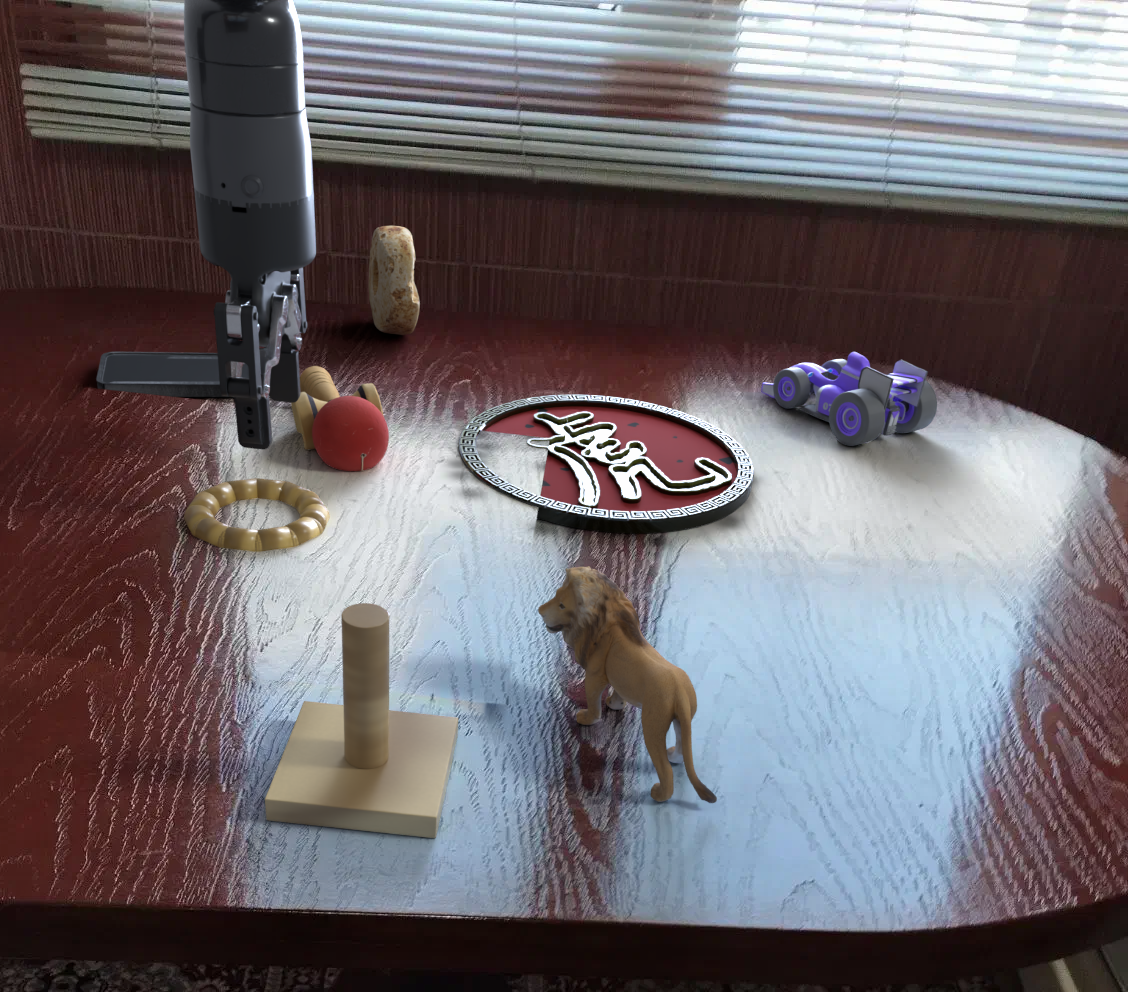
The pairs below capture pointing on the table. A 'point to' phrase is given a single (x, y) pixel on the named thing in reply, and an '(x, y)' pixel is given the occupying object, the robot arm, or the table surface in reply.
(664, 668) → the lion figurine
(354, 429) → the kendama
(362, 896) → the table surface
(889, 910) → the table surface
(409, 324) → the stone disc
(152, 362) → the phone
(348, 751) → the post
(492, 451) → the table surface
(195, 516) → the ring
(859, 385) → the toy race car
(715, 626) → the table surface
